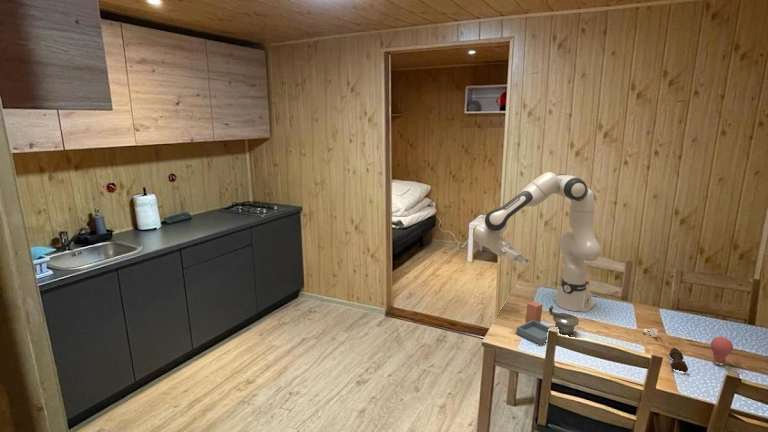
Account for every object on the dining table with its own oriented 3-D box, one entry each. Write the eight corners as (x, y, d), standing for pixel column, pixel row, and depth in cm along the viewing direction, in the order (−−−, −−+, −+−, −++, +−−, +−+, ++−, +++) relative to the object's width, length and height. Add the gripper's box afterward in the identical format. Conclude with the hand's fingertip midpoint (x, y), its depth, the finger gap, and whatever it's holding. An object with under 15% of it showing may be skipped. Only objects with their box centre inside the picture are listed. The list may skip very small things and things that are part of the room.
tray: (532, 326, 199) (533, 319, 198) (556, 337, 189) (557, 330, 188) (516, 334, 192) (516, 327, 191) (540, 346, 182) (541, 339, 181)
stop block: (531, 319, 206) (533, 300, 204) (540, 323, 202) (542, 304, 200) (525, 322, 203) (527, 303, 201) (534, 326, 200) (536, 307, 197)
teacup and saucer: (641, 330, 198) (642, 323, 197) (660, 335, 195) (662, 327, 194) (643, 339, 191) (644, 331, 190) (663, 343, 187) (665, 335, 186)
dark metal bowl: (579, 331, 195) (582, 310, 193) (573, 341, 187) (576, 319, 184) (550, 322, 203) (553, 302, 201) (543, 331, 195) (546, 310, 192)
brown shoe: (675, 359, 178) (679, 377, 165) (664, 351, 179) (667, 368, 166) (686, 350, 175) (691, 367, 162) (674, 342, 177) (679, 358, 164)
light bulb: (702, 359, 175) (708, 333, 172) (718, 359, 175) (724, 333, 172) (716, 369, 168) (723, 342, 165) (733, 369, 168) (739, 342, 166)
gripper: (501, 242, 196) (527, 258, 191) (508, 241, 215) (532, 256, 209) (494, 253, 197) (520, 269, 192) (502, 251, 216) (525, 266, 210)
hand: (526, 262), depth 201 cm, fingers open, 8 cm apart
